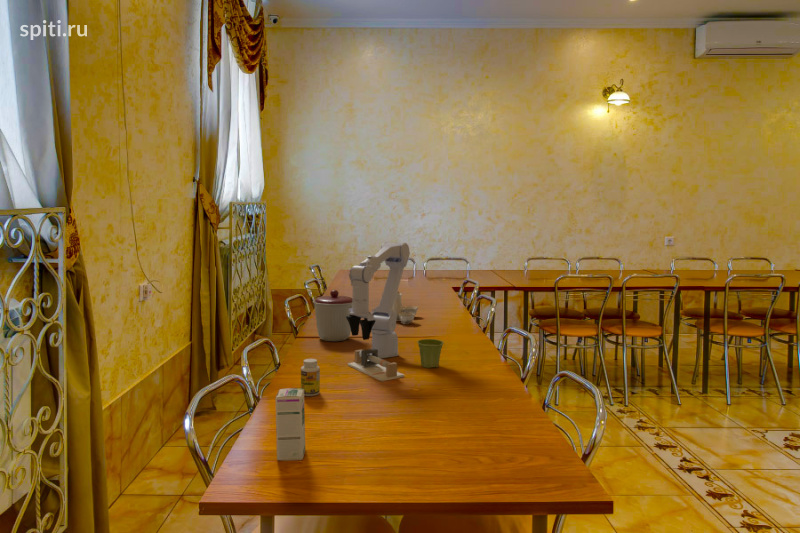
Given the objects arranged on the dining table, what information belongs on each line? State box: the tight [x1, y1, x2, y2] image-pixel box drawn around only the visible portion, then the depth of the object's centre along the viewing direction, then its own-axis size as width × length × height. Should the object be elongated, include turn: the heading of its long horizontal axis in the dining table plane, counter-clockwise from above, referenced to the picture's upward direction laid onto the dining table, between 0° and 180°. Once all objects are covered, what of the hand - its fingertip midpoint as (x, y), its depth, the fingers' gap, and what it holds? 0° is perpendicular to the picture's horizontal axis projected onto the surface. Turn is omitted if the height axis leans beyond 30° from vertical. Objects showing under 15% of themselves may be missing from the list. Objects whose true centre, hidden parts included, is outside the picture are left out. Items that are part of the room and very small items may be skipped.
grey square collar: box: [360, 348, 378, 366], centre depth 194 cm, size 2×5×5 cm, turn 124°
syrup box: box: [275, 387, 306, 461], centre depth 125 cm, size 6×6×14 cm
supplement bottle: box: [300, 358, 321, 397], centre depth 167 cm, size 6×6×10 cm
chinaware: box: [392, 290, 419, 325], centre depth 281 cm, size 28×17×17 cm, turn 179°
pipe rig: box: [347, 348, 405, 382], centre depth 192 cm, size 22×9×5 cm, turn 35°
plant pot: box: [417, 338, 445, 369], centre depth 199 cm, size 9×9×9 cm
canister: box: [312, 289, 353, 342], centre depth 238 cm, size 18×18×21 cm
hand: (360, 337), depth 199 cm, fingers open, 7 cm apart
